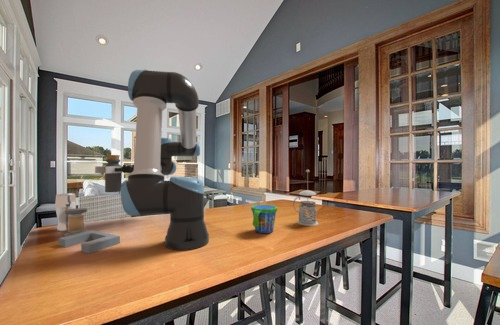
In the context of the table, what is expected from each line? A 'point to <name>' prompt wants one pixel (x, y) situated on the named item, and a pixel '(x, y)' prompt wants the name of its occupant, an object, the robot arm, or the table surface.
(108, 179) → the bottle
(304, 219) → the french press
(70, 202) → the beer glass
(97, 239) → the notch board
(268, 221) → the snack cup
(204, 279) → the table surface
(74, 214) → the bobbin
